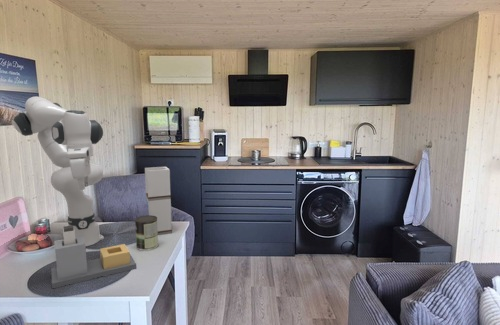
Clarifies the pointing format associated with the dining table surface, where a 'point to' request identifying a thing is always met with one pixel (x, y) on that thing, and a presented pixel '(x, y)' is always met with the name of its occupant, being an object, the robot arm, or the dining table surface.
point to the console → (87, 262)
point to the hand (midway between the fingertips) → (84, 188)
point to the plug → (69, 235)
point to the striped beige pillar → (159, 197)
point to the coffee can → (146, 232)
